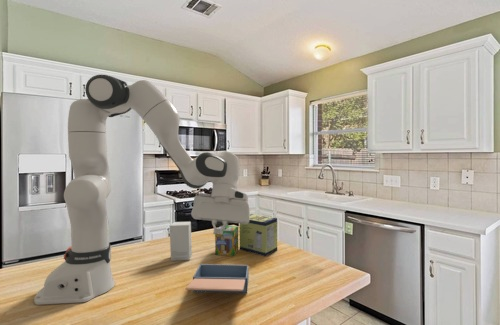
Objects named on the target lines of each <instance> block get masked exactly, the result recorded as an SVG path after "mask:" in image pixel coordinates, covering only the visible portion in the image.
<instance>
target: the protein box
mask: <svg viewBox="0 0 500 325" xmlns="http://www.w3.org/2000/svg"><path fill="white" fill-rule="evenodd" d="M239 250H241V251H244V252H248V253H251V254H255V255H259V256H263V257H267V256H268V255H271V254H272V253H274V252H276V251H278V217H272V216H266V215H259V214H255V213H251V214H250V220H249V222H248V223H247V224H241V223H239Z"/></svg>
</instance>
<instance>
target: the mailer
mask: <svg viewBox="0 0 500 325" xmlns="http://www.w3.org/2000/svg"><path fill="white" fill-rule="evenodd" d="M249 268H250V267H249V264H213V263H211V264H210V263H209V264H207V263H203V264H201V263H200V264H199V265H198V267H197V269H196V271H195V273H194V274H193V277H192V280H193V279H244V280H245V284H244V289H243V291H225V290H192V293H203V294H204V293H213V294H214V293H215V294H248V289H249V288H248V287H249V277H250V276H249V274H250V273H249V272H250V271H249Z"/></svg>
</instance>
